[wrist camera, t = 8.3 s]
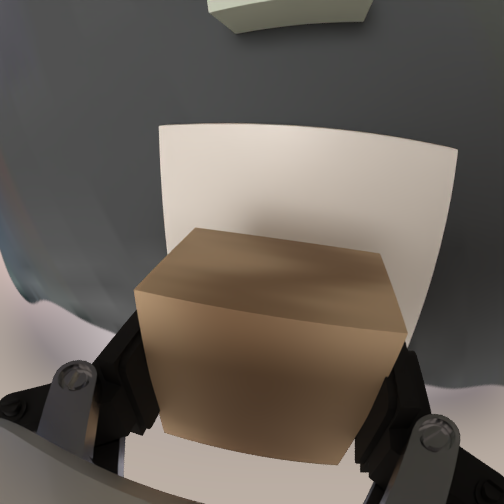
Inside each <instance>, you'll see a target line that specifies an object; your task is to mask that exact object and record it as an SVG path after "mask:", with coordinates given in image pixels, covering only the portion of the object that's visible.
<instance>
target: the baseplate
mask: <svg viewBox="0 0 504 504" xmlns="http://www.w3.org/2000/svg"><path fill="white" fill-rule="evenodd" d="M159 142H160V166H161V183H162V198H163V211H164V223H165V234H166V244H167V254H169V253H170V252H171V251H172V250H173V249H174V248H175V247H176V246H177V245H178V244H179V243H180V242H181V241H182V240H183V239H184V238H185V237H186V236H187V235H188V234H189V233H190V232H191V231H192V230H193V229H194V228H195V227H196V228H204V229H211V230H219V231H226V232H234V233H241V234H249V235H256V236H263V237H271V238H278V239H285V240H292V241H299V242H306V243H313V244H320V245H327V246H334V247H341V248H347V249H354V250H361V251H367V252H374V253H380V255H381V257H382V260H383V263H384V265H385V268H386V271H387V273H388V276H389V279H390V281H391V284H392V287H393V290H394V293H395V296H396V298H397V301H398V304H399V307H400V310H401V313H402V316H403V319H404V323H405V326H406V329H407V332H408V335H407V337H406V339H405V342H406V346H407V348H408V345H409V342H410V340H411V337H412V335H413V332H414V329H415V327H416V324H417V321H418V318H419V316H420V313H421V310H422V307H423V304H424V301H425V298H426V295H427V291H428V288H429V285H430V282H431V278H432V275H433V272H434V268H435V264H436V261H437V257H438V253H439V249H440V245H441V241H442V237H443V233H444V229H445V224H446V220H447V215H448V210H449V205H450V200H451V194H452V188H453V182H454V176H455V169H456V162H457V154H458V150H457V149H454V148H451V147H447V146H442V145H438V144H433V143H428V142H423V141H418V140H412V139H407V138H401V137H395V136H388V135H382V134H375V133H368V132H360V131H352V130H343V129H334V128H324V127H312V126H298V125H282V124H257V123H195V124H170V125H162V126H159Z"/></svg>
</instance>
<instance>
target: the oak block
mask: <svg viewBox="0 0 504 504" xmlns="http://www.w3.org/2000/svg"><path fill="white" fill-rule="evenodd" d="M134 294H135V300H136V307H137V313H138V319H139V324H140V330H141V335H142V341H143V346H144V351H145V356H146V361H147V365H148V370H149V374H150V378H151V382H152V385H153V388H154V392H155V395H156V398H157V401H158V405H159V408H160V412H159V414H160V419H161V422H162V426H163V429H164V432H165V433H167V434H171V435H174V436H177V437H180V438H184V439H187V440H191V441H195V442H198V443H202V444H206V445H210V446H214V447H219V448H223V449H227V450H231V451H236V452H241V453H246V454H252V455H257V456H262V457H269V458H275V459H281V460H289V461H297V462H306V463H315V464H327V465H338V464H339V462H340V461H341V459H342V457H343V456H344V455H345V453H346V452H347V450H348V448H349V447H350V445H351V444H352V442H353V440H354V439H355V437H356V435H357V434H358V432H359V430H360V429H361V427H362V425H363V424H364V422H365V420H366V418H367V416H368V414H369V412H370V410H371V408H372V406H373V404H374V401H375V399H376V397H377V395H378V393H379V390H380V388H381V386H382V383H383V381H384V379H385V377H389V374H390V372H391V370H392V368H393V366H394V364H395V362H396V360H397V358H398V355H399V353H400V351H401V349H402V346H403V344H404V342H405V339H406V337H407V335H408V332H407V329H406V326H405V323H404V319H403V316H402V313H401V310H400V307H399V304H398V301H397V298H396V296H395V293H394V290H393V287H392V284H391V281H390V279H389V276H388V273H387V271H386V268H385V265H384V263H383V260H382V257H381V255H380V253H374V252H367V251H361V250H354V249H347V248H341V247H334V246H327V245H320V244H313V243H306V242H299V241H292V240H285V239H278V238H271V237H263V236H256V235H249V234H241V233H234V232H226V231H219V230H211V229H204V228H196V227H195V228H194V229H193V230H192V231H191V232H190V233H189V234H188V235H187V236H186V237H185V238H184V239H183V240H182V241H181V242H180V243H179V244H178V245H177V246H176V247H175V248H174V249H173V250H172V251H171V252H170V253H169V254H168V255H167V256H166V257H165V258H164V259H163V260H162V261H161V262H160V263H159V264H158V265H157V266H156V267H155V268H154V269H153V270H152V271H151V272H150V273H149V274H148V275H147V276H146V277H145V279H144V280H143V281H142V282H141V283H140V284H139V285H138V286H137V287H136V288H135V289H134Z"/></svg>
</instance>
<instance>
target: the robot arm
mask: <svg viewBox="0 0 504 504" xmlns="http://www.w3.org/2000/svg"><path fill="white" fill-rule="evenodd" d="M159 412H160V408H159V405H158V401H157V398H156V395H155V392H154V388H153V385H152V382H151V378H150V374H149V370H148V365H147V361H146V356H145V351H144V346H143V341H142V335H141V330H140V324H139V319H138V313H137V310H136V311H135V312H134V313H133V315H132V316H131V317H130V318H129V319H128V320H127V322H126V323H125V324H124V325H123V326H122V328H121V329H120V330H119V331H118V333H117V334H116V335H115V336H114V337H113V339H112V340H111V341H110V342H109V344H108V345H107V346H106V347H105V348H104V350H103V351H102V352H101V353H100V355H99V356H98V357H97V358H96V360H95V361H94V362H93V363H92V364H91V363H89V362H87V361H82V360H77V361H71V362H68V363H66V364H64V365H63V366H61V367H60V368H59V369H58V370H57V372H56V374H55V375H54V377H53V381H52V383H50V384H47V385H43V386H39V387H35V388H31V389H27V390H23V391H19V392H14V393H11V394H8V395H6V396H5V397H3V398H2V399H1V400H0V504H204V503H199V502H196V501H192V500H188V499H185V498H182V497H178V496H175V495H172V494H168V493H165V492H162V491H159V490H156V489H153V488H151V487H148V486H145V485H142V484H139V483H137V482H134V481H132V480H129V479H126V478H124V454H125V437H126V436H128V435H129V433H130V432H133V433H136V434H139V435H142V436H143V434H144V432H145V430H146V428H147V429H150V428H151V427H152V426H153V424H154V422H155V420H156V418H157V416H158V414H159ZM459 445H460V433H459V429H458V428H457V426H456V425H455V423H454V422H453V421H452V420H450V419H449V418H447V417H445V416H443V415H438V414H431V409H430V405H429V401H428V397H427V393H426V389H425V385H424V381H423V377H422V373H421V370H420V366H419V362H418V359H417V356H416V353H415V352H414V351H408V349H407V346H406V342H404V344H403V346H402V349H401V351H400V353H399V355H398V358H397V360H396V362H395V364H394V366H393V368H392V370H391V372H390V374H389V377H385V379H384V381H383V383H382V386H381V388H380V390H379V393H378V395H377V397H376V399H375V401H374V404H373V406H372V408H371V410H370V412H369V414H368V416H367V418H366V420H365V422H364V424H363V425H362V427H361V429H360V430H359V432H358V434H357V435H356V437H355V463H357V464H360V472H369V478H370V479H371V480H373V481H374V482H373V484H372V486H371V488H370V491H369V493H368V495H367V497H366V499H365V501H364V503H363V504H504V477H503V476H502V475H501V474H499V473H498V472H496V471H495V470H493V469H492V468H490V467H489V466H488V465H486V464H485V463H483V462H482V461H480V460H479V459H477V458H476V457H474V456H473V455H471V454H470V453H469V452H467V451H466V450H464V449H463V448H461V447H460V446H459Z"/></svg>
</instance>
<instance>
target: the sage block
mask: <svg viewBox="0 0 504 504" xmlns="http://www.w3.org/2000/svg"><path fill="white" fill-rule="evenodd" d="M372 2H373V0H207V3H208V10H209V13H210V14H211V15H213V16H214V17H215V18H216V19H218V20H219V21H220V22H222V23H223V24H224V25H225V26H227V27H228V28H229V29H230V30H232V31H233V32H234V33H235V34H239V33H244V32H250V31H256V30H262V29H269V28H276V27H284V26H293V25H303V24H315V23H332V22H364V19H365V17H366V15H367V13H368V10H369V8H370V6H371V4H372Z"/></svg>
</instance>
